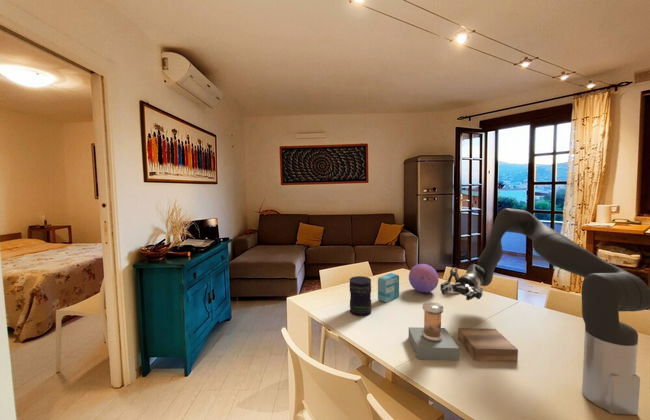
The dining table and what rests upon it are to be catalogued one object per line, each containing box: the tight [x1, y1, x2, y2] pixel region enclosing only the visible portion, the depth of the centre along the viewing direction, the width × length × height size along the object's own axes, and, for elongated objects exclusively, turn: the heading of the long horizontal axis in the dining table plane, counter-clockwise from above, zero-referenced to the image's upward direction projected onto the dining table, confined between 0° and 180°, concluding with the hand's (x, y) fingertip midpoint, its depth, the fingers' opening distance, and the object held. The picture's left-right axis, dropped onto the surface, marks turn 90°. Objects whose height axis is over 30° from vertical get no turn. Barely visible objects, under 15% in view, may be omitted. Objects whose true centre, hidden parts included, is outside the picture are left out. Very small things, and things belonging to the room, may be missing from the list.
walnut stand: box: [457, 327, 519, 362], centre depth 93 cm, size 13×13×4 cm
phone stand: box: [447, 266, 460, 291], centre depth 148 cm, size 9×6×12 cm, turn 57°
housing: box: [422, 301, 444, 342], centre depth 94 cm, size 7×7×11 cm
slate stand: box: [408, 326, 460, 361], centre depth 95 cm, size 13×13×4 cm
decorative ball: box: [408, 263, 439, 294], centre depth 146 cm, size 15×15×15 cm
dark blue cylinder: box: [349, 275, 372, 318], centre depth 124 cm, size 10×10×15 cm
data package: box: [377, 272, 400, 304], centre depth 138 cm, size 12×4×12 cm, turn 131°
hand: (454, 294), depth 101 cm, fingers open, 8 cm apart
